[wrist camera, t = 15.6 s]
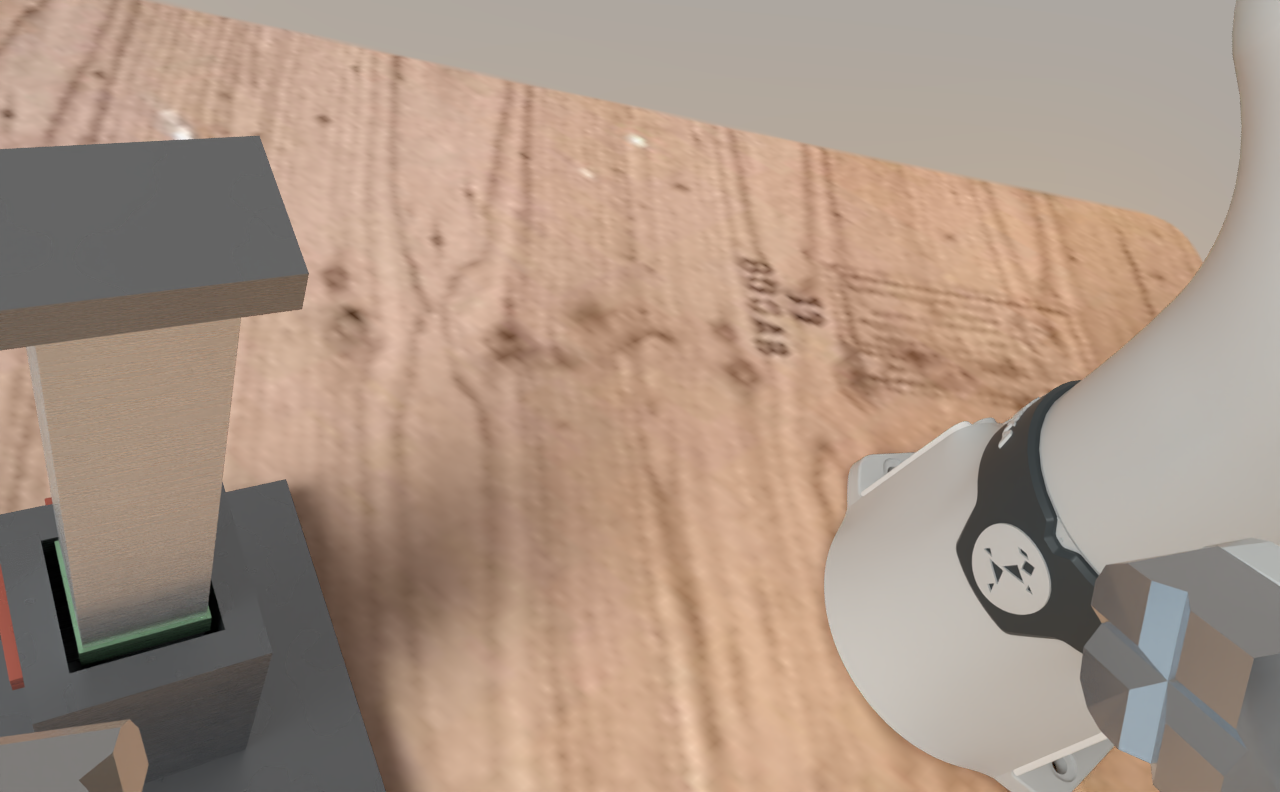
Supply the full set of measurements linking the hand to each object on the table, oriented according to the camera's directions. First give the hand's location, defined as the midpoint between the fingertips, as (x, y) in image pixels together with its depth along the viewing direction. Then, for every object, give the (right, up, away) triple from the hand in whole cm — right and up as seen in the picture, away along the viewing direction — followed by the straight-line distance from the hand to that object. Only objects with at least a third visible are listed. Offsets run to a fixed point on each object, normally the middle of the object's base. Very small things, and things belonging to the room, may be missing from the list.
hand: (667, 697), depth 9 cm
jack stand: (-18, -9, +29) cm, 35 cm away
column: (-16, -5, +23) cm, 28 cm away
